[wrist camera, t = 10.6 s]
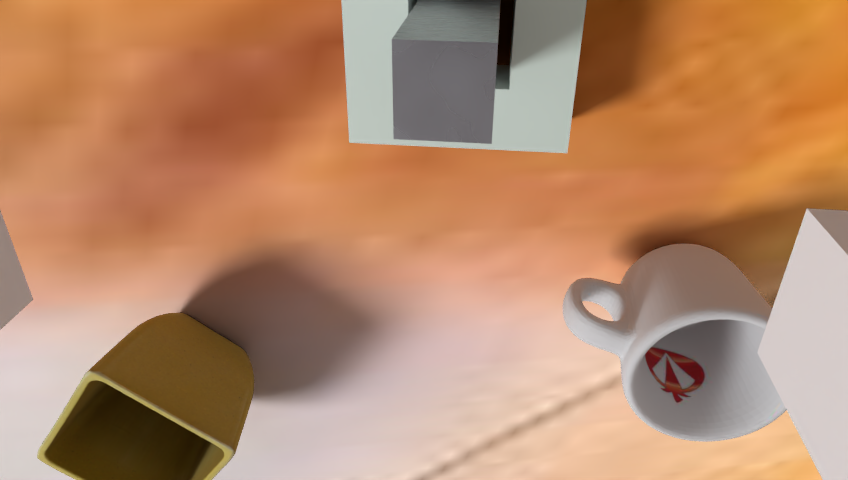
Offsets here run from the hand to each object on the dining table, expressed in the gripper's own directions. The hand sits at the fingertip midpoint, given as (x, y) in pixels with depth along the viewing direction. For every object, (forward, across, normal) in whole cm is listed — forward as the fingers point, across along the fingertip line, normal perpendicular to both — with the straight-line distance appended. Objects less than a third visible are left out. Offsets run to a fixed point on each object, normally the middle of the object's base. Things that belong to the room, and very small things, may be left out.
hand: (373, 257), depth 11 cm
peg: (+23, 0, -1) cm, 23 cm away
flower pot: (+23, -17, -22) cm, 36 cm away
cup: (+23, +11, -15) cm, 29 cm away
